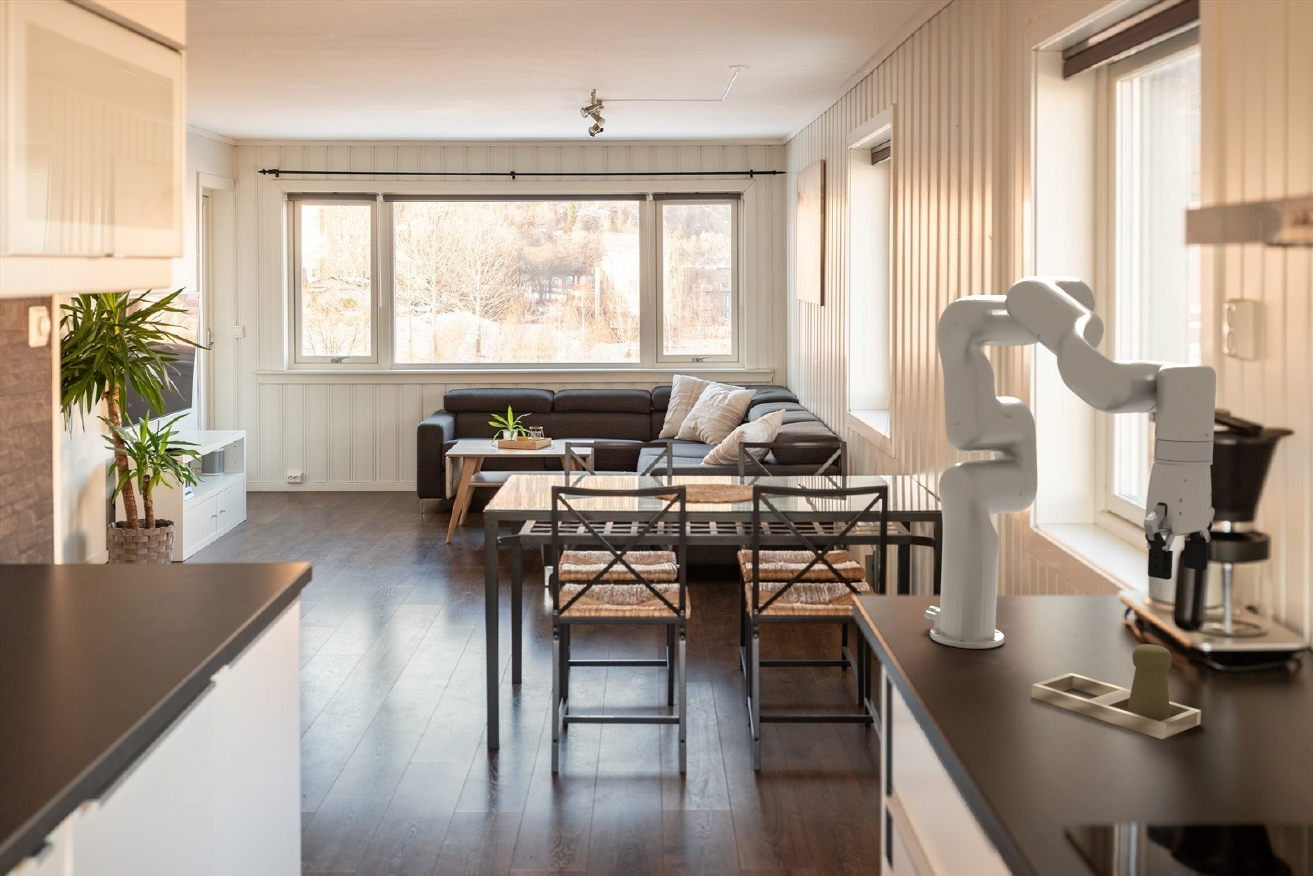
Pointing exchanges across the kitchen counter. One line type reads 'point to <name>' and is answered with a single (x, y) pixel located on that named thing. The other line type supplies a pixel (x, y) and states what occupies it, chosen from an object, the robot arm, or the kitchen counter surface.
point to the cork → (1150, 682)
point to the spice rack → (1112, 705)
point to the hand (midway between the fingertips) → (1177, 573)
